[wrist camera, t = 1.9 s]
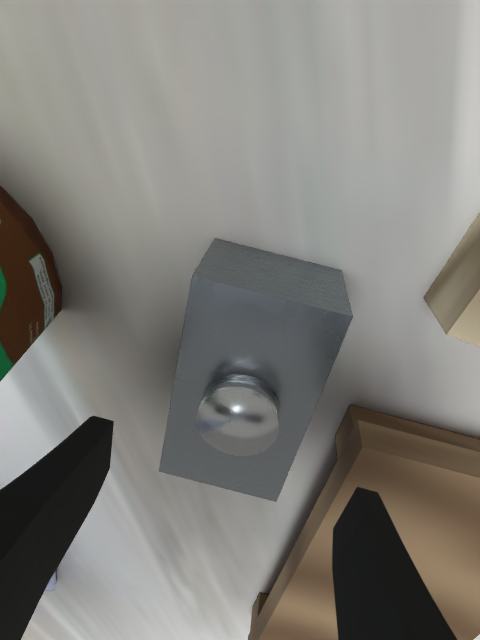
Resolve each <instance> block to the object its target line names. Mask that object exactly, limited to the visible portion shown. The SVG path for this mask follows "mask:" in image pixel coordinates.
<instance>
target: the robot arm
mask: <svg viewBox="0 0 480 640" xmlns="http://www.w3.org/2000/svg"><path fill="white" fill-rule="evenodd" d="M113 423H114V421H111V420H107V419H104V418H100V417H96V416H92V417H89V418H88V419H87V420H86V421H85V422H84V423H83V424H82V425H81V426H80V427H78V428H77V429H76V430H75V431H74V432H73V433H72V434H71V435H69V436H68V437H67V438H66V439H65V440H64V441H63V442H61V443H60V444H59V445H58V446H57V447H55V448H54V449H53V450H52V451H51V452H49V453H48V454H47V455H46V456H44V457H43V458H42V459H41V460H39V461H38V462H37V463H36V464H34V465H33V466H32V467H31V468H29V469H28V470H27V471H25V472H24V473H23V474H22V475H20V476H19V477H17V478H16V479H15V480H13V481H12V482H11V483H9V484H8V485H7V486H5V487H4V488H2V489H1V490H0V640H21V638H22V636H23V634H24V632H25V629H26V627H27V625H28V623H29V621H30V619H31V617H32V615H33V613H34V610H35V608H36V606H37V604H38V602H39V600H40V598H41V596H42V594H43V592H44V590H46V591H52V590H53V589H54V587H55V585H56V569H57V567H58V565H59V564H60V562H61V560H62V558H63V557H64V555H65V553H66V551H67V550H68V548H69V546H70V544H71V543H72V541H73V539H74V538H75V536H76V534H77V532H78V531H79V529H80V527H81V525H82V524H83V522H84V520H85V518H86V517H87V515H88V513H89V511H90V510H91V508H92V506H93V504H94V502H95V500H96V498H97V496H98V494H99V491H100V489H101V487H102V485H103V482H104V480H105V478H106V475H107V473H108V471H109V468H110V458H111V446H112V435H113ZM332 572H333V584H334V596H335V607H336V618H337V629H338V640H457V638H456V636H455V635H454V633H453V632H452V630H451V628H450V627H449V625H448V623H447V622H446V620H445V618H444V617H443V615H442V613H441V612H440V610H439V608H438V606H437V605H436V603H435V601H434V600H433V598H432V596H431V594H430V592H429V591H428V589H427V587H426V585H425V583H424V582H423V580H422V578H421V576H420V574H419V572H418V570H417V569H416V567H415V565H414V563H413V561H412V559H411V557H410V555H409V553H408V551H407V550H406V548H405V546H404V544H403V542H402V540H401V538H400V536H399V534H398V532H397V530H396V528H395V526H394V524H393V522H392V519H391V517H390V515H389V513H388V511H387V509H386V507H385V505H384V503H383V501H382V499H381V497H380V495H379V493H378V492H375V491H372V490H368V489H364V488H360V487H357V488H356V489H355V491H354V493H353V495H352V496H351V498H350V500H349V502H348V503H347V505H346V507H345V509H344V510H343V512H342V514H341V515H340V517H339V519H338V521H337V522H336V524H335V526H334V528H333V544H332Z"/></svg>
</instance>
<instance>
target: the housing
mask: <svg viewBox="0 0 480 640" xmlns="http://www.w3.org/2000/svg"><path fill="white" fill-rule="evenodd" d="M352 318H353V315H352V311H351V307H350V303H349V299H348V295H347V291H346V287H345V283H344V278H343V274H342V270H338V269H334V268H330V267H326V266H322V265H318V264H315V263H311V262H307V261H303V260H299V259H295V258H291V257H287V256H283V255H279V254H275V253H271V252H268V251H264V250H260V249H256V248H252V247H248V246H244V245H240V244H236V243H232V242H228V241H224V240H220V239H217V238H215V239H214V241H213V242H212V244H211V246H210V247H209V249H208V251H207V252H206V254H205V255H204V257H203V259H202V260H201V262H200V264H199V265H198V267H197V269H196V270H195V272H194V273H193V275H192V279H191V285H190V291H189V297H188V303H187V309H186V315H185V321H184V326H183V332H182V338H181V344H180V350H179V356H178V362H177V368H176V374H175V380H174V385H173V391H172V397H171V403H170V409H169V415H168V421H167V427H166V433H165V439H164V444H163V450H162V456H161V462H160V468H159V471H160V472H164V473H167V474H171V475H175V476H179V477H183V478H187V479H191V480H194V481H198V482H202V483H206V484H210V485H214V486H218V487H221V488H225V489H229V490H233V491H237V492H241V493H245V494H248V495H252V496H256V497H260V498H264V499H268V500H272V501H275V502H276V501H277V499H278V496H279V494H280V492H281V489H282V487H283V484H284V482H285V480H286V477H287V475H288V472H289V470H290V467H291V465H292V463H293V460H294V458H295V455H296V453H297V451H298V448H299V446H300V443H301V441H302V438H303V436H304V434H305V431H306V429H307V426H308V424H309V422H310V419H311V417H312V414H313V412H314V409H315V407H316V405H317V402H318V400H319V397H320V395H321V392H322V390H323V388H324V385H325V383H326V380H327V378H328V376H329V373H330V371H331V368H332V366H333V363H334V361H335V359H336V356H337V354H338V351H339V349H340V347H341V344H342V342H343V339H344V337H345V334H346V332H347V330H348V327H349V325H350V322H351V320H352Z"/></svg>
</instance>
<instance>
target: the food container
mask: <svg viewBox="0 0 480 640" xmlns="http://www.w3.org/2000/svg"><path fill="white" fill-rule="evenodd" d="M61 306H62V286H61V283H60V279H59V275H58V272H57V268H56V264H55V261H54V257H53V254H52V252H51V250H50V248H49V246H48V245H47V243H46V241H45V240H44V238H43V236H42V234H41V233H40V231H39V229H38V228H37V226H36V224H35V223H34V221H33V219H32V218H31V217H30V216H29V215H28V214H27V213H26V212H25V211H24V209H23V208H22V207H21V206H20V205H19V204H18V203H17V202H16V201H15V200H14V199H13V198H12V197H11V196H10V195H9V194H8V193H7V192H6V191H5V190H4V189H3V188H2V187H1V186H0V381H1V380H2V379H3V378H4V377H5V375H6V374H7V373H8V372H9V371H10V370H11V368H12V367H13V366H14V365H15V364H16V362H17V361H18V360H19V359H20V358H21V357H22V355H23V354H24V353H25V352H26V351H27V350H28V348H29V347H30V346H31V345H32V344H33V343H34V341H35V340H36V339H37V338H38V337H39V336H40V334H41V333H42V332H43V331H44V330H45V328H46V327H47V326H48V325H49V324H50V323H51V321H52V320H53V319H54V318H55V317H56V316H57V314H58V313H59V312H60V311H61Z"/></svg>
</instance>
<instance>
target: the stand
mask: <svg viewBox="0 0 480 640" xmlns="http://www.w3.org/2000/svg"><path fill="white" fill-rule="evenodd" d="M335 439H336V449H337V459H338V460H337V462H336V464H335V466H334V468H333V470H332V472H331V474H330V476H329V478H328V480H327V482H326V484H325V486H324V488H323V490H322V492H321V494H320V496H319V497H318V499H317V501H316V503H315V505H314V507H313V509H312V511H311V513H310V515H309V517H308V519H307V521H306V523H305V525H304V527H303V529H302V531H301V533H300V535H299V537H298V539H297V541H296V543H295V545H294V547H293V549H292V551H291V553H290V555H289V557H288V559H287V561H286V563H285V565H284V566H283V568H282V570H281V572H280V574H279V576H278V578H277V580H276V582H275V584H274V586H273V588H272V590H271V592H270V594H269V595H267V594H263V593H259V595H258V597H257V599H256V601H255V603H254V605H253V608H252V618H251V629H250V634H249V635H248V640H338V629H337V618H336V607H335V596H334V584H333V572H332V544H333V528H334V526H335V524H336V522H337V521H338V519H339V517H340V515H341V514H342V512H343V510H344V509H345V507H346V505H347V503H348V502H349V500H350V498H351V496H352V495H353V493H354V491H355V489H356V488H357V487H360V488H364V489H368V490H372V491H375V492H378V493H379V495H380V497H381V499H382V501H383V503H384V505H385V507H386V509H387V511H388V513H389V515H390V517H391V519H392V522H393V524H394V526H395V528H396V530H397V532H398V534H399V536H400V538H401V540H402V542H403V544H404V546H405V548H406V550H407V551H408V553H409V555H410V557H411V559H412V561H413V563H414V565H415V567H416V569H417V570H418V572H419V574H420V576H421V578H422V580H423V582H424V583H425V585H426V587H427V589H428V591H429V592H430V594H431V596H432V598H433V600H434V601H435V603H436V605H437V606H438V608H439V610H440V612H441V613H442V615H443V617H444V618H445V620H446V622H447V623H448V625H449V627H450V628H451V630H452V632H453V633H454V635H455V636H456V638H457V640H473V639H474V638H476V637H477V636H478V635H479V634H480V439H477V438H473V437H469V436H465V435H462V434H458V433H454V432H450V431H447V430H443V429H439V428H435V427H431V426H428V425H424V424H420V423H416V422H413V421H409V420H405V419H401V418H398V417H394V416H390V415H386V414H382V413H379V412H375V411H371V410H367V409H364V408H360V407H356V406H352V405H350V406H349V408H348V410H347V412H346V414H345V416H344V418H343V420H342V422H341V424H340V426H339V429H338V431H337V433H336V435H335Z"/></svg>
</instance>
